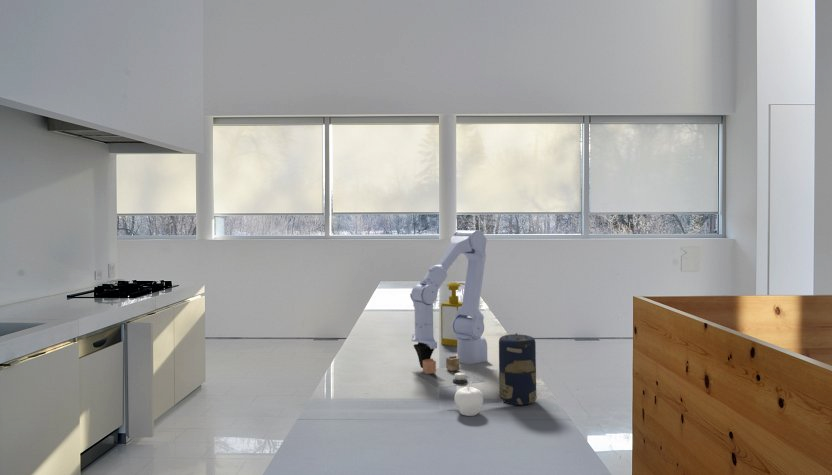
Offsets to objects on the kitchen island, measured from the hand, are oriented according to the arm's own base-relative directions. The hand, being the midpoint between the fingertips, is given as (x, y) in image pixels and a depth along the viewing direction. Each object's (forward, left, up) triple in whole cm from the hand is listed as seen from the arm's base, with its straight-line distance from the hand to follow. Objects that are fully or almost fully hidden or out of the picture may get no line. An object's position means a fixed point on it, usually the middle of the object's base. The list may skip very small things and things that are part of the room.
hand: (424, 367), depth 182 cm
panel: (-4, +9, -2) cm, 10 cm away
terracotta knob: (0, +3, -1) cm, 4 cm away
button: (-4, +16, -1) cm, 16 cm away
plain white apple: (+5, +38, -2) cm, 38 cm away
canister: (-11, +35, -2) cm, 37 cm away
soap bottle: (-31, -38, -2) cm, 49 cm away
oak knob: (-8, +3, -1) cm, 9 cm away
